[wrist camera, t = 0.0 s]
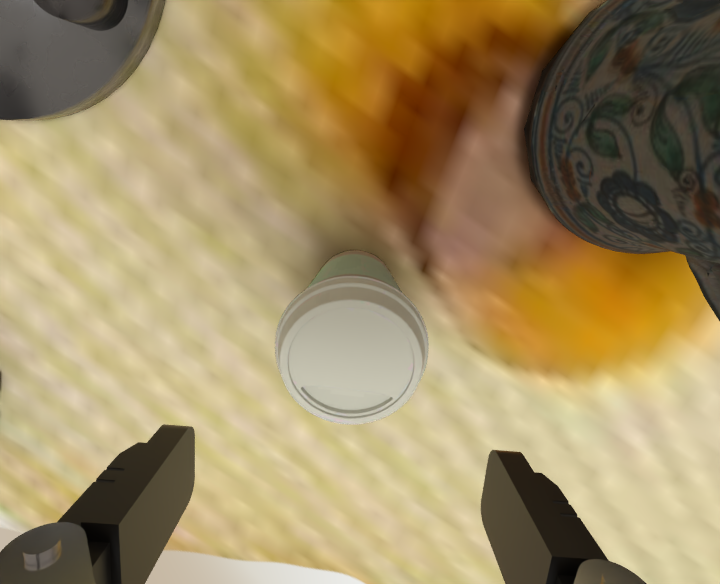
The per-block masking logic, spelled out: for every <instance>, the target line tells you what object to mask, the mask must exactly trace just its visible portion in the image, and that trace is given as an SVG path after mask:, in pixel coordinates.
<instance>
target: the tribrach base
mask: <svg viewBox="0 0 720 584" xmlns="http://www.w3.org/2000/svg"><path fill="white" fill-rule="evenodd" d="M164 4H165V0H0V119H3V120H43V119H53V118H58V117H63V116H67V115H71V114H74V113H77V112H79V111H82V110H84V109H87V108H90V107H91V106H93V105H95V104H96V103H98V102H100V101H101V100H103V99H105V98H107V97H108V96H109V95H110V94H111V93H113V92H114V91H115V90H116V89H117V88H119V87H120V86H121V85H122V84H123V83H124V82H125V81H126V80H127V78H128V77H129V76H130V75H131V74H132V73H133V72H134V70H135V69H136V68H137V66H138V65H139V63H140V62H141V60H142V58H143V57H144V55H145V54H146V52H147V51H148V49H149V46H150V44H151V42H152V40H153V37H154V35H155V33H156V31H157V28H158V25H159V21H160V18H161V15H162V11H163V8H164Z"/></svg>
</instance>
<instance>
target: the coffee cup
mask: <svg viewBox="0 0 720 584" xmlns="http://www.w3.org/2000/svg"><path fill="white" fill-rule="evenodd" d="M428 346H429V344H428V334H427V329H426V326H425V323H424V321H423V318H422V316H421V314H420V313H419V311H418V310H417V308H416V307H415V305H414V304H413V303H412V302H411V301H410V300H409V299H408V298H407V297H406V296H405V295H404V294H403V293H402V292H401V290H400V288H399V287H398V285H397V283H396V282H395V280H394V278H393V276H392V275H391V273H390V272H389V270H388V268H387V267H386V265H385V264H384V263H383V262H382V261H381V260H380V259H379V258H378V257H376V256H374V255H373V254H370V253H368V252H365V251H359V250H350V251H345V252H342V253H339V254H337V255H335V256H334V257H332V258H331V259H330V260H328V261H327V262H326V264H325V265H324V266H323V267H322V269H321V270H320V271H319V273H318V274H317V275H316V277H315V278H314V279H313V281H312V282H311V284H310V285H309V286H308V288H307V289H306V290H304V291H303V292H301V293H300V294H299V295H298V296H297V297H296V298H295V299H294V300H293V301H292V302H291V303H290V304H289V305H288V307H287V308H286V310H285V311H284V313H283V315H282V317H281V319H280V321H279V324H278V328H277V332H276V340H275V355H276V361H277V365H278V369H279V371H280V374H281V376H282V379H283V382H284V384H285V386H286V388H287V390H288V392H289V393H290V395H291V396H292V397H293V398H294V400H295V401H296V402H297V403H298V404H299V405H300V406H302V407H303V408H304V409H305V410H307V411H308V412H310V413H311V414H313V415H315V416H317V417H319V418H321V419H324V420H327V421H330V422H334V423H340V424H365V423H370V422H374V421H377V420H380V419H382V418H384V417H387V416H389V415H391V414H392V413H394V412H395V411H397V410H398V409H399V408H401V407H402V406H403V405H404V404H405V403H406V402H407V401H408V400H409V398H410V397H411V396H412V394H413V393H414V391H415V390H416V388H417V386H418V383H419V382H420V380H421V378H422V376H423V373H424V371H425V368H426V364H427V359H428Z"/></svg>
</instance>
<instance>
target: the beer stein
mask: <svg viewBox="0 0 720 584" xmlns="http://www.w3.org/2000/svg"><path fill="white" fill-rule="evenodd" d="M524 132H525V139H526V146H527V153H528V161H529V168H530V175H531V180H532V182H533V183H534V185H535V186H536V188H537V189H538V191H539V192H540V194H541V195H542V197H543V199H544V200H545V202H546V204H547V206H548V207H549V209H550V211H551V212H552V213H553V215H554V216H555V217H556V219H557V220H558V221H559V222H560V223H561V224H562V225H563V226H565V227H566V228H567V229H568V230H569V231H571V232H572V233H574V234H575V235H577V236H578V237H580V238H582V239H583V240H585V241H587V242H590V243H592V244H595V245H597V246H600V247H602V248H605V249H609V250H613V251H618V252H625V253H635V254H645V253H659V252H667V251H672V252H676V253H680V254H683V255H685V256H686V259H687V262H688V264H689V267H690V269H691V271H692V272H693V274H694V276H695V278H696V280H697V282H698V284H699V286H700V289H701V291H702V293H703V295H704V297H705V299H706V300H707V302H708V304H709V305H710V307H711V308H712V310H713V311H714V313H715V315H716V316H717V318H718V319H719V321H720V0H607V1H606V2H604V3H603V4H602V5H601V6H600V7H598V8H596V9H594V10H592V11H591V12H590V13H589V14H588V15H587V16H586V18H585V19H584V20H583V21H582V23H581V24H580V25H579V26H578V28H577V29H576V30H575V31H574V33H573V34H572V35H571V36H570V38H569V39H568V40H567V41H566V42H565V44H564V45H563V46H562V47H561V49H560V50H559V51H558V52H557V54H556V55H555V56H554V57H553V59H552V60H551V61H550V62H549V64H548V65H547V66H546V67H545V69H544V70H543V71H542V74H541V77H540V80H539V84H538V87H537V90H536V93H535V96H534V99H533V103H532V106H531V109H530V112H529V115H528V119H527V122H526V125H525V128H524Z"/></svg>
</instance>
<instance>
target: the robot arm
mask: <svg viewBox="0 0 720 584" xmlns="http://www.w3.org/2000/svg"><path fill="white" fill-rule="evenodd" d="M194 479H195V433H194V429H193V427H189V426H176V425H162V426H161V427H160V428H159V429H158V431H157V432H156V433H155V434H154V435H153V436H152V438H151V439H150V440H149V441H148V442H147V443H139V442H138V443H137V444H135V445H133V446H132V447H130V448H128V449H127V450H125V451H123V452H122V453H120V454H119V455H118V456H117V457H116V458H115V459H114V460H113V461H112V463H111V464H110V465H109V466H108V467H107V470H104V471H103V472H102V473H101V475H100V476H99V477H98V478H97V480H96V482H93V483H92V484H91V486H90V487H89V488H88V489H87V490H86V491H85V492H84V493H83V494H82V495H81V497H80V498H79V499H78V500H77V501H76V502H75V503H74V504H73V505H72V506H71V507H70V509H69V510H68V511H67V512H66V513H65V514H64V515H63V516H62V517H61V518H60V520H59V521H58V522H57V523H51V524H46V525H43V526H40V527H37V528H34V529H32V530H30V531H27V532H25V533H24V534H22V535H20V536H18V537H17V538H15V539H14V540H13V541H11V542H10V543H9V544H8V545H7V546H6V547H5V548H4V549H3V550H2V551H1V552H0V584H145V582H146V580H147V578H148V577H149V575H150V573H151V571H152V569H153V567H154V566H155V564H156V562H157V560H158V558H159V556H160V554H161V553H162V551H163V549H164V547H165V546H166V544H167V542H168V540H169V538H170V536H171V535H172V533H173V531H174V529H175V527H176V525H177V524H178V522H179V520H180V518H181V516H182V514H183V513H184V511H185V509H186V507H187V505H188V503H189V501H190V498H191V495H192V491H193V487H194ZM481 515H482V521H483V525H484V528H485V531H486V533H487V536H488V539H489V541H490V544H491V547H492V549H493V552H494V554H495V557H496V560H497V562H498V565H499V568H500V570H501V573H502V576H503V578H504V581H505V584H646V583H645V582H644V581H643V580H642V579H641V578H639V577H638V576H637V575H636V574H634V573H633V572H631V571H630V570H628V569H626V568H624V567H623V566H620V565H618V564H616V563H613V562H610V561H609V560H608V559H607V558H606V556H605V555H604V553H603V552H602V550H601V549H600V547H599V546H598V544H597V543H596V541H595V540H594V538H593V537H592V536H591V534H590V533H589V531H588V530H587V528H586V527H585V525H584V524H583V522H582V521H581V519H580V518H578V517H577V514H576V512H575V511H574V509H573V508H572V506H571V505H569V504H568V500H567V499H566V497H565V496H564V494H563V493H562V492H561V490H560V489H559V487H558V486H557V485H556V484H554V483H553V482H552V481H551V480H549V479H548V478H547V477H546V476H545V475H543V474H542V473H534V471H533V470H532V468H531V467H530V465H529V463H528V462H527V460H526V459H525V457H524V456H523V454H522V453H521V452H513V451H499V450H492V451H491V452H490V454H489V458H488V464H487V470H486V475H485V481H484V487H483V493H482V499H481Z"/></svg>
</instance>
